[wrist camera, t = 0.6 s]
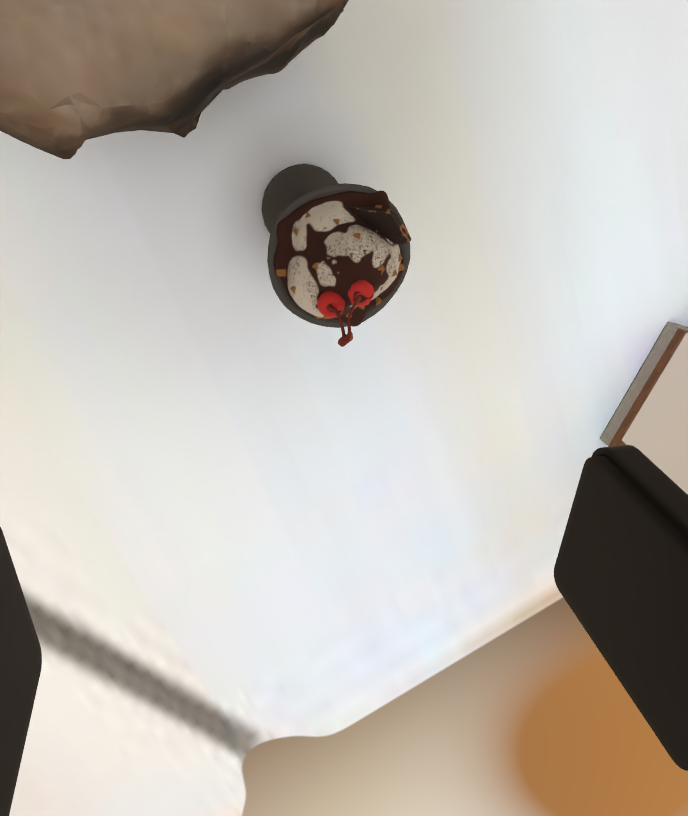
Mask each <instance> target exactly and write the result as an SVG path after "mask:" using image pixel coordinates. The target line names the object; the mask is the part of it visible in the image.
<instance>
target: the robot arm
mask: <svg viewBox="0 0 688 816" xmlns="http://www.w3.org/2000/svg"><path fill="white" fill-rule="evenodd" d="M554 578H555V582H556V585H557V588H558V589H559V591H560V593H561V594H562V596H563V597H564V598H565V600H566V602H567V603H568V605H569V606H570V608H571V609H572V610H573V612H574V613H575V615H576V616H577V618H578V619H579V621H580V622H581V624H582V625H583V627H584V628H585V630H586V631H587V633H588V634H589V636H590V637H591V639H592V640H593V642H594V643H595V644H596V646H597V648H598V649H599V651H600V652H601V654H602V655H603V657H604V658H605V660H606V661H607V663H608V664H609V666H610V667H611V669H612V670H613V671H614V673H615V675H616V676H617V678H618V679H619V680H620V682H621V683H622V685H623V687H624V688H625V690H626V691H627V693H628V694H629V696H630V697H631V698H632V700H633V702H634V703H635V704H636V706H637V707H638V709H639V710H640V712H641V713H642V715H643V716H644V718H645V719H646V721H647V722H648V724H649V725H650V727H651V728H652V730H653V731H654V732H655V734H656V736H657V737H658V739H659V740H660V742H661V743H662V745H663V746H664V748H665V749H666V751H667V752H668V754H669V755H670V757H671V758H672V759H673V761H674V762H675V763H676V764H677V765H678V766H679V767H680V768H681V769H684V770H688V494H687V493H685V492H684V491H683V490H682V489H681V488H680V487H679V486H678V485H677V484H676V483H675V482H674V481H672V480H671V479H670V478H669V477H668V476H667V475H666V474H665V473H664V472H663V471H662V470H661V469H659V468H658V467H657V466H656V465H655V464H654V463H653V462H652V461H651V460H650V459H649V458H647V457H646V456H645V455H644V454H643V453H642V452H641V451H640V450H639V449H638V448H636V447H634V446H632V445H622V446H613V447H604V448H599V449H597V450H596V451H595V452H594V453H593V455H592V457H591V458H588V459H587V460H586V462H585V464H584V467H583V470H582V474H581V477H580V481H579V484H578V488H577V491H576V494H575V498H574V501H573V505H572V508H571V512H570V515H569V519H568V522H567V526H566V529H565V533H564V536H563V539H562V543H561V546H560V550H559V553H558V557H557V560H556V564H555V567H554ZM41 664H42V654H41V647H40V643H39V640H38V637H37V634H36V631H35V628H34V625H33V622H32V619H31V616H30V613H29V610H28V607H27V604H26V601H25V598H24V595H23V592H22V589H21V586H20V583H19V580H18V577H17V574H16V571H15V568H14V565H13V562H12V559H11V556H10V553H9V550H8V547H7V544H6V541H5V538H4V535H3V532H2V529H1V527H0V816H9V813H10V808H11V804H12V799H13V795H14V790H15V786H16V781H17V777H18V772H19V768H20V763H21V758H22V754H23V749H24V745H25V740H26V736H27V731H28V727H29V722H30V718H31V713H32V709H33V704H34V699H35V695H36V690H37V686H38V681H39V677H40V672H41Z"/></svg>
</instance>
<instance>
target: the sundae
mask: <svg viewBox="0 0 688 816" xmlns="http://www.w3.org/2000/svg"><path fill="white" fill-rule="evenodd" d="M262 213H263V219H264V222H265V226H266V227H267V229H268V231H269V232H270V240H269V246H268V260H267V262H268V268H269V274H270V278H271V282H272V286H273V289H274V290H275V292H276V294H277V296H278V297H279V299H280V300H281V302H282V303H283V304H284V306H285V307H286V308H287V309H289V310H290V311H291V312H292V313H294V314H295V315H297V316H298V317H300V318H302V319H304V320H306V321H308V322H310V323H313V324H317V325H321V326H326V327H335V328H339V327H341V330H342V337H341V338H340V339H339V341H338V344H339V345H340V346H342V347H343V346H345V345H346V344H347V343H349V342H350V341H351V340H352V339H353V335H352V333H351V326H358V325H360V324H361V323H362V322H364V321H365V320H367V319H368V318H370V317H372V316H373V315H375V314H376V313H377V312H378V311H380V310H381V309H382V308H383V307H384V306H385V305H386V304H387V303H388V302H389V300H390V299H391V298H392V297H393V295H394V294H395V293H396V291H397V290H398V288H399V287H400V285H401V283H402V282H403V280H404V277H405V275H406V272H407V269H408V265H409V261H410V242H409V241H411V238H410V236H409V233H408V231H407V228H406V226H405V224H404V221H403V219H402V217H401V216H400V214H399V212H398V210H397V209H396V207H395V206H394V205H393V204H392V203H391V202H390V201H389V199H388V196H387V194H386V193H385V192H384V191H376V190H374V189H372V188H370V187H367V186H362V185H356V184H345V183H344V184H338V183H337V181H336V180H335V178H334V177H333V176H332V175H330V174H329V173H328V172H327V171H325V170H324V169H322V168H320V167H316V166H313V165H307V164H302V165H295V166H292V167H288V168H286V169H285V170H283V171H281V172H280V173H279V174H277V175H276V176H275V177H274V178H273V179H272V181H271V182H270V183H269V185H268V187H267V189H266V191H265V193H264V197H263V203H262ZM346 326H348V334H347V335H346V334H345V330H344V327H346Z"/></svg>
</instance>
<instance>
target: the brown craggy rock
mask: <svg viewBox="0 0 688 816" xmlns="http://www.w3.org/2000/svg"><path fill="white" fill-rule="evenodd" d="M347 2H348V0H0V131H2V132H4V133H6V134H8V135H10V136H12V137H14V138H16V139H18V140H20V141H22V142H25V143H27V144H29V145H31V146H33V147H36V148H38V149H40V150H43V151H45V152H47V153H50V154H53V155H55V156H57V157H60V158H62V159H70V158H71V157H73V156H74V155H75V154H76V151H77V149H79V148H80V147H81V146H82V144H83V143H84V141H85V140H87V139H91V138H95V137H99V136H103V135H107V134H111V133H115V132H125V131H136V130H147V131H158V132H169V133H175V134H177V135H179V136H181V137H185V136H186V135H187V134H188V133H189V132H190V131H192V130H194V129H196V126H197V123H198V120H199V117H200V114H201V112H202V111H203V110H204V109H205V108H206V107H207V106H208V105H209V104H210V103H211V101H212V100H213V99H214V98H215V97H216V96H217V95H218V94H219V93H220V92H221V91H222V90H224V89H229V88H231V87H233V86H234V85H236V84H238V83H240V82H242V81H245V80H248V79H251V78H254V77H258V76H262V75H265V74H274V73H277V72H279V71H281V70H282V69H283V68H284V67H285V66H286V65H287V64H288V63H289V62H290V61H291V60H292V59H293V58H294V57H296V56H297V55H298V54H299V53H300V52H301V51H302V50H303V49H305V48H306V47H307V46H308V45H310V44H311V43H312V42H313V41H314V40H316V39H317V38H319V37H321V36H323V35H324V34H325V33H326V32H327V31H328V30H329V29H330V28H331V27H332V26H333V25H334V24H335V22H336V20H337V19H338V17H339V15H340V14H341V12H343V9H344V7H345V5H346V4H347Z"/></svg>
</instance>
